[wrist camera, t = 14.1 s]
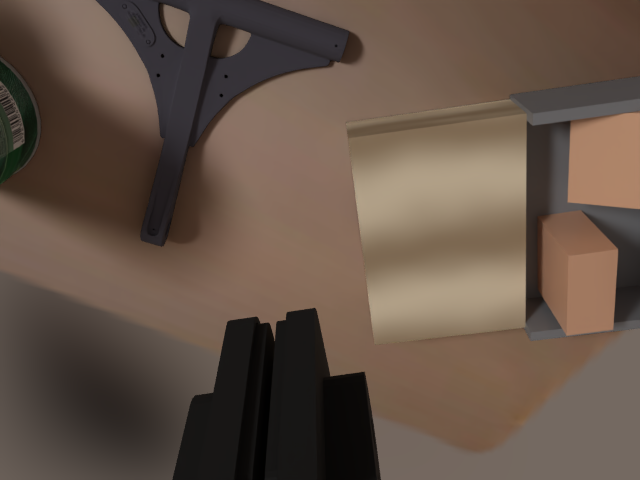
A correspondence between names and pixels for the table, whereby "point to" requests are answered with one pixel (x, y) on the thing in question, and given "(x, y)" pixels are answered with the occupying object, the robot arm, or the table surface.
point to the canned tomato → (16, 122)
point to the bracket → (211, 73)
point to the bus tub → (552, 193)
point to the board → (442, 219)
